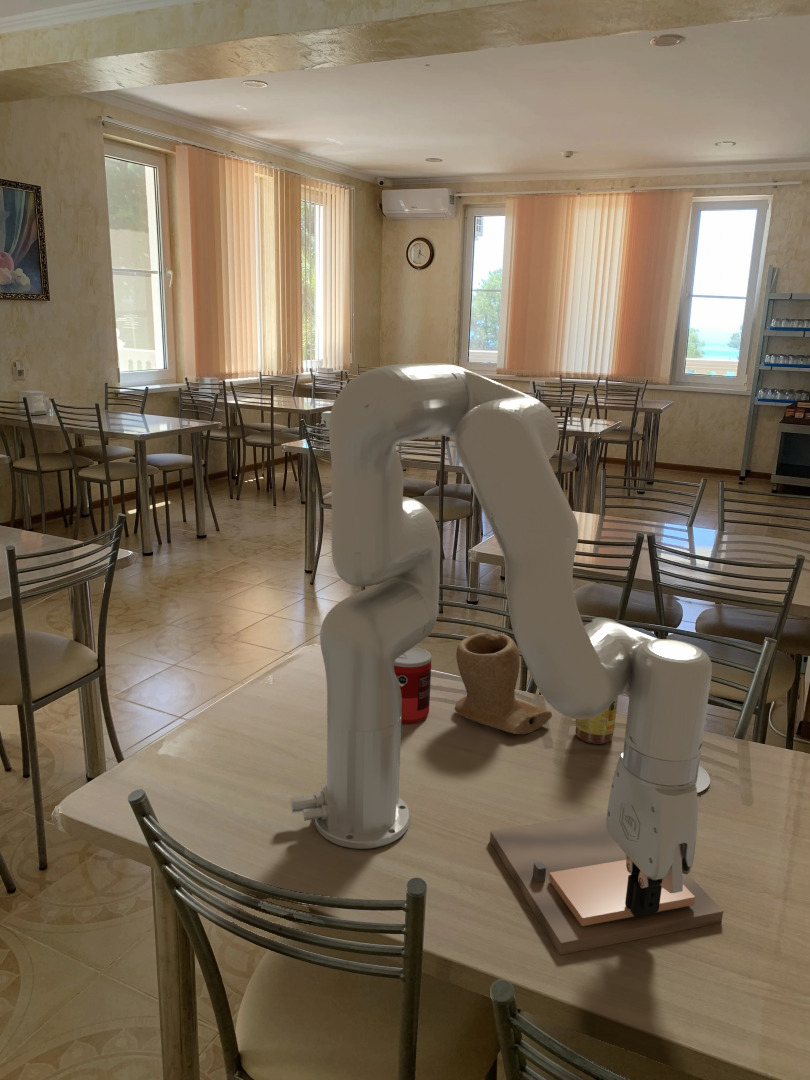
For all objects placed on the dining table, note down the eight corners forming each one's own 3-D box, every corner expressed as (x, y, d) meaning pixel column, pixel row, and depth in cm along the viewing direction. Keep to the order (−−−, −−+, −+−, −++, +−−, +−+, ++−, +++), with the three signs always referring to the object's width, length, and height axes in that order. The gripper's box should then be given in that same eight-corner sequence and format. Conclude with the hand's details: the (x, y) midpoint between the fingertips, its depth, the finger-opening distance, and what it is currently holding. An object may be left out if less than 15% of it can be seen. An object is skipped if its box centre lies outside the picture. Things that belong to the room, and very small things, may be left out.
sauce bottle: (614, 748, 127) (627, 631, 122) (574, 743, 129) (585, 627, 123) (612, 729, 134) (624, 617, 129) (574, 724, 135) (584, 613, 130)
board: (489, 840, 103) (491, 818, 102) (627, 819, 109) (629, 798, 108) (560, 954, 85) (562, 928, 84) (721, 922, 90) (725, 897, 89)
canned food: (376, 706, 139) (378, 647, 136) (420, 701, 141) (423, 643, 138) (389, 727, 132) (391, 665, 129) (435, 722, 134) (438, 661, 131)
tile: (582, 918, 86) (581, 927, 86) (695, 896, 90) (694, 906, 90) (549, 872, 93) (548, 881, 94) (654, 854, 97) (653, 863, 98)
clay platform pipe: (438, 719, 135) (442, 636, 131) (478, 697, 144) (483, 618, 140) (514, 751, 126) (521, 662, 122) (553, 725, 134) (560, 641, 131)
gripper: (592, 728, 89) (578, 870, 94) (671, 804, 75) (649, 966, 80) (651, 721, 91) (634, 861, 96) (739, 793, 77) (714, 952, 82)
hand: (641, 908), depth 88 cm, fingers closed
